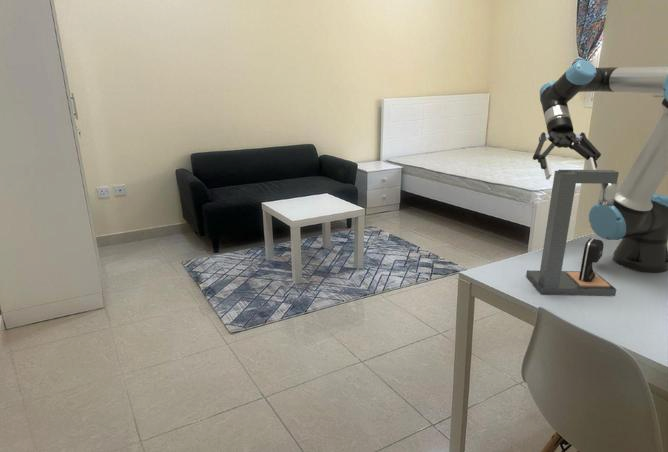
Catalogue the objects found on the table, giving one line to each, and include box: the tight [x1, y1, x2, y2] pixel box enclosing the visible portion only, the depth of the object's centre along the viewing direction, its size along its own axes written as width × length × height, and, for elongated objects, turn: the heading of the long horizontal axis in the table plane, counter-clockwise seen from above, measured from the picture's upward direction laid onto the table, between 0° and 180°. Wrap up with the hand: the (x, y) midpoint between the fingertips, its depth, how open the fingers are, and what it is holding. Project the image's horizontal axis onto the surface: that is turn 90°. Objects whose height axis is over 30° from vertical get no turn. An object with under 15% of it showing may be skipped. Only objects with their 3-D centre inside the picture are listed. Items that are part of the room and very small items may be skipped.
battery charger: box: [579, 237, 604, 282], centre depth 129 cm, size 7×4×11 cm, turn 140°
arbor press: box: [525, 169, 620, 297], centre depth 127 cm, size 20×12×34 cm, turn 87°
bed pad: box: [567, 271, 610, 287], centre depth 131 cm, size 8×9×1 cm
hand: (571, 177), depth 142 cm, fingers open, 13 cm apart
